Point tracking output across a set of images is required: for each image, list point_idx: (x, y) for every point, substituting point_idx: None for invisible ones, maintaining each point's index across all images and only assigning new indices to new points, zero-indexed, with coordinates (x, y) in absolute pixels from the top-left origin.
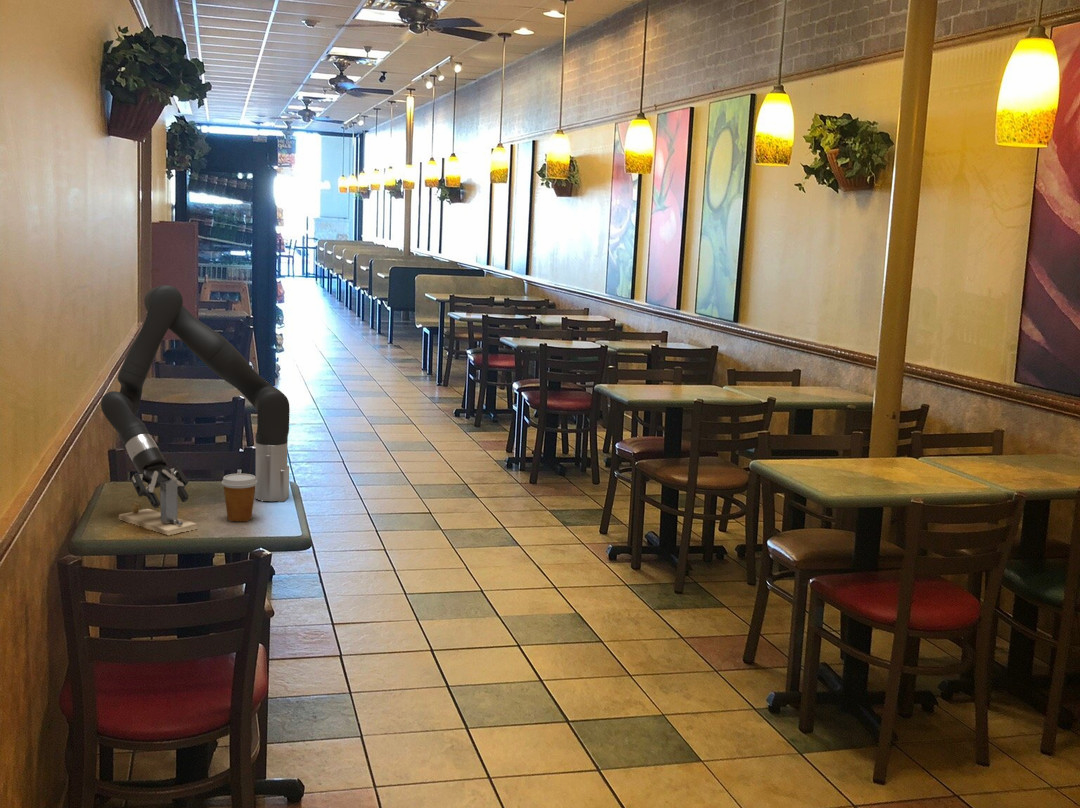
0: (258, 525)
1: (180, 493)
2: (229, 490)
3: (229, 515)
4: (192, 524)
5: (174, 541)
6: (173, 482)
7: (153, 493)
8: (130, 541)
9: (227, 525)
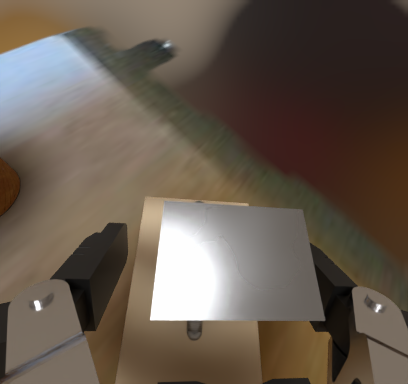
0: (24, 119)
1: (108, 276)
2: None
3: (4, 189)
4: (159, 203)
5: (254, 170)
6: (211, 205)
7: (342, 280)
8: (338, 246)
9: (65, 173)
